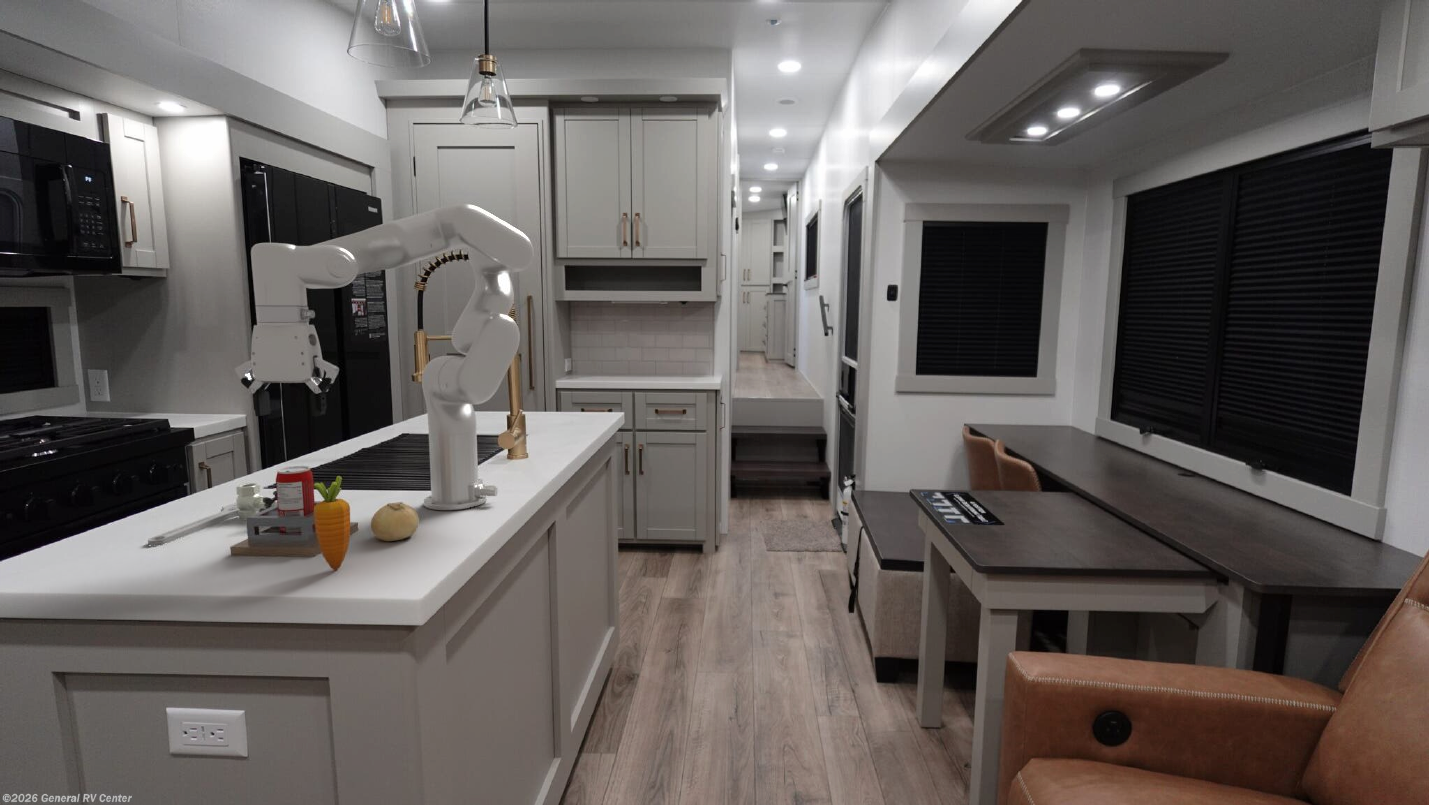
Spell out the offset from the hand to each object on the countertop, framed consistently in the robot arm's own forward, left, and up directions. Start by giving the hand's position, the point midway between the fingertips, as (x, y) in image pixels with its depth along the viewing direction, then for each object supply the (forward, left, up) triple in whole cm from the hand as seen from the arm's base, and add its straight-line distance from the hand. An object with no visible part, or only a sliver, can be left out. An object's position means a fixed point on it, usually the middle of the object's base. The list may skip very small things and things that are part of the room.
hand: (291, 415), depth 119 cm
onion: (-17, -2, -23) cm, 28 cm away
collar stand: (-1, +1, -23) cm, 23 cm away
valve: (+14, -11, -23) cm, 29 cm away
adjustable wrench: (+23, -9, -23) cm, 34 cm away
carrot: (-15, +14, -23) cm, 31 cm away
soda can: (-1, +1, -21) cm, 21 cm away
